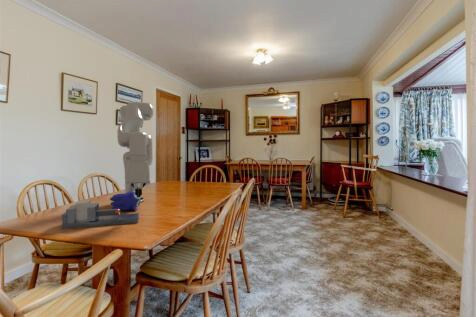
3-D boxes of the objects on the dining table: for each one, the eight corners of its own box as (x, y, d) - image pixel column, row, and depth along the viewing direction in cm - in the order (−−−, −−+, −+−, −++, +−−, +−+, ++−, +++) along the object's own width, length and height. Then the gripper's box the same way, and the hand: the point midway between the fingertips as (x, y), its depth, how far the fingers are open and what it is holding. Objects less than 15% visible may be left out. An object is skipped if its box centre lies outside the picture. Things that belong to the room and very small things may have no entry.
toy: (143, 204, 157) (145, 208, 144) (112, 211, 151) (112, 216, 137) (140, 187, 157) (142, 190, 143) (109, 194, 150) (108, 197, 136)
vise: (69, 222, 122) (68, 205, 121) (138, 217, 131) (138, 201, 130) (62, 229, 112) (61, 210, 112) (137, 222, 121) (137, 205, 121)
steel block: (78, 218, 121) (78, 201, 120) (91, 217, 122) (90, 200, 122) (75, 221, 116) (75, 203, 115) (88, 220, 117) (88, 202, 117)
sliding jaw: (91, 216, 124) (91, 203, 124) (121, 214, 128) (121, 201, 128) (87, 221, 115) (87, 207, 115) (119, 218, 119) (119, 205, 119)
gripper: (119, 159, 119) (120, 199, 121) (154, 159, 124) (155, 197, 125) (121, 157, 126) (122, 195, 128) (154, 157, 131) (155, 194, 132)
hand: (138, 196), depth 127 cm, fingers closed
